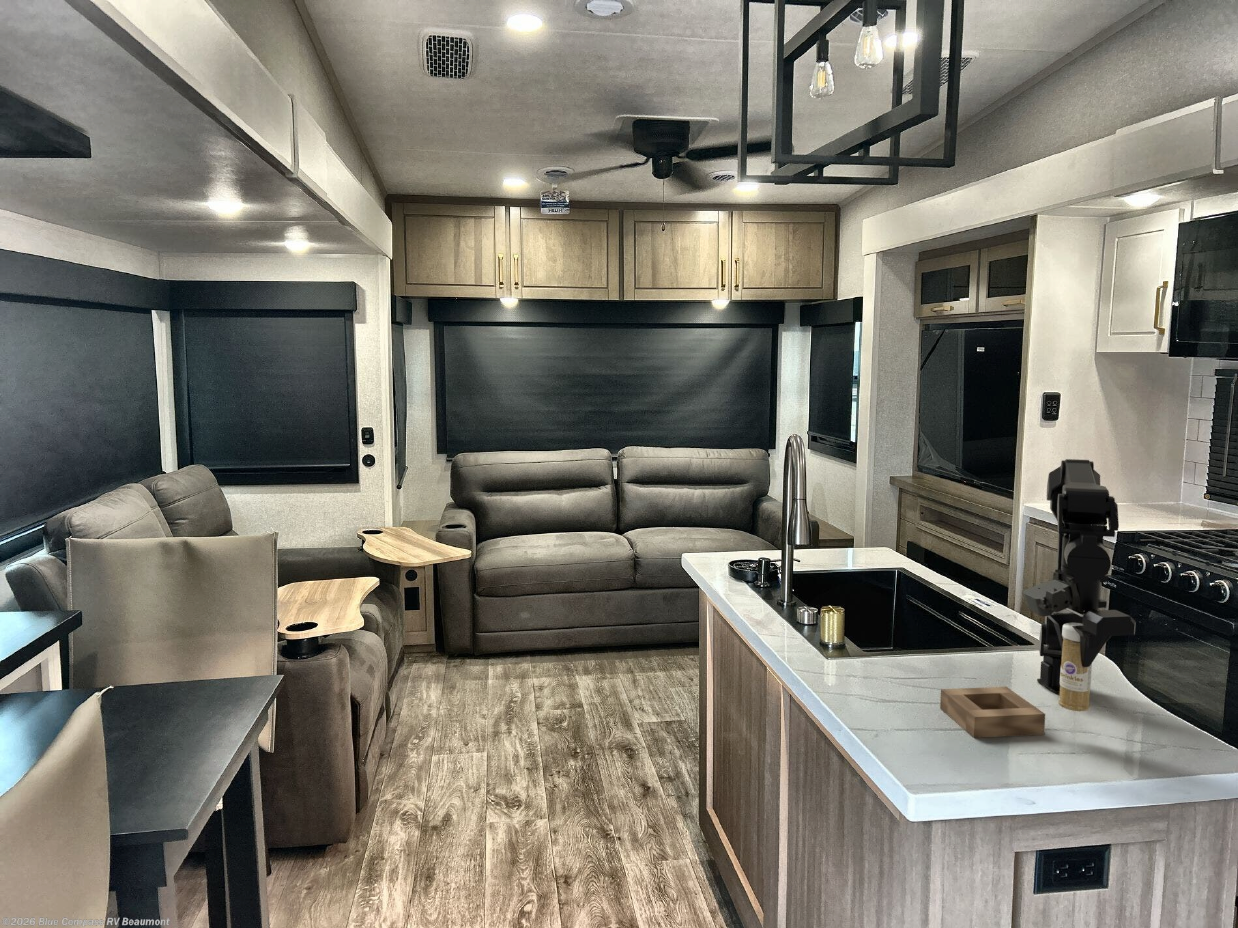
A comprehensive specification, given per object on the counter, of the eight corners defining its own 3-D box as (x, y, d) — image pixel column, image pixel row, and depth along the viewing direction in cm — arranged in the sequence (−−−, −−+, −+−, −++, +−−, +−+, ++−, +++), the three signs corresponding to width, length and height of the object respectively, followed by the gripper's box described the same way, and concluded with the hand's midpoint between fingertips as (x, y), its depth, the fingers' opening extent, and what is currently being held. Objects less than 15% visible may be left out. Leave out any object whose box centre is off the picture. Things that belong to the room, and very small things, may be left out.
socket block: (1005, 705, 153) (1006, 686, 153) (1044, 734, 141) (1045, 713, 141) (940, 708, 152) (940, 689, 152) (973, 737, 140) (974, 716, 140)
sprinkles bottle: (1055, 707, 139) (1059, 626, 137) (1062, 698, 142) (1066, 619, 141) (1086, 714, 136) (1091, 632, 134) (1093, 705, 139) (1097, 625, 138)
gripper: (1001, 554, 145) (997, 644, 147) (1069, 583, 126) (1064, 685, 128) (1064, 552, 146) (1059, 641, 148) (1141, 580, 127) (1134, 682, 129)
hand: (1076, 661), depth 138 cm, fingers closed on sprinkles bottle, 4 cm apart
